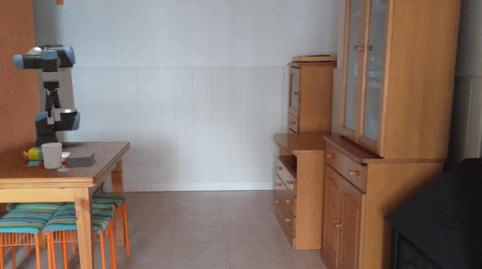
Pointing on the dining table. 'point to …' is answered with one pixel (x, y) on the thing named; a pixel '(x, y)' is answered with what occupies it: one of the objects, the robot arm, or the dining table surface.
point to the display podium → (80, 159)
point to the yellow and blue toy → (34, 156)
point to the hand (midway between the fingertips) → (54, 122)
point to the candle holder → (52, 155)
